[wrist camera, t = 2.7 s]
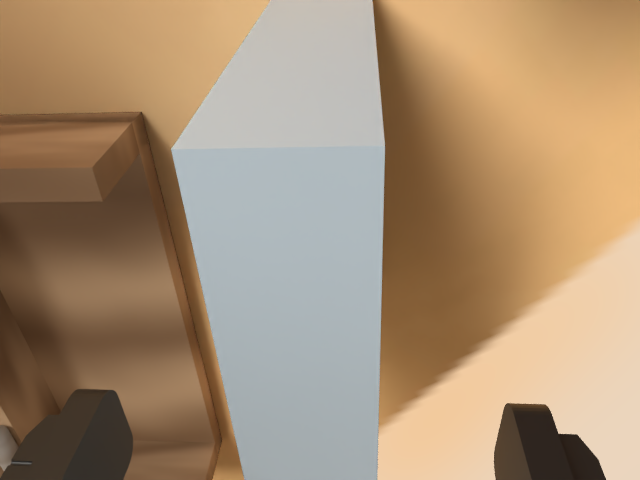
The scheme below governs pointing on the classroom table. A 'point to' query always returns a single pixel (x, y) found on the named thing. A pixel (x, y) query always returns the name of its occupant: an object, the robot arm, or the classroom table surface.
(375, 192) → the blue-gray square slab
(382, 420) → the classroom table surface
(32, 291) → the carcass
